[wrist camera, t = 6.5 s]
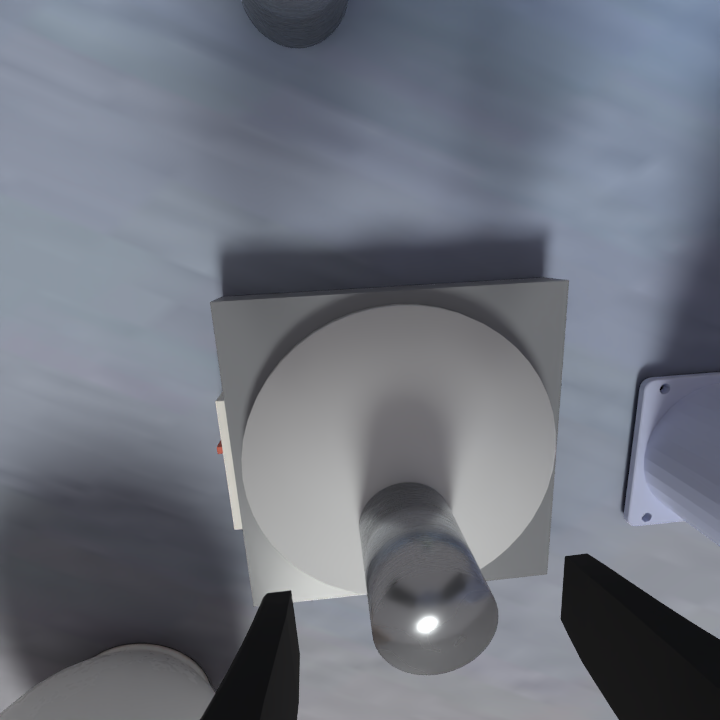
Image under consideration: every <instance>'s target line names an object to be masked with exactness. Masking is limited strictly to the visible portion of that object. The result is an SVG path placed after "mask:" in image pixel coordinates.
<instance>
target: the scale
mask: <svg viewBox="0 0 720 720" xmlns="http://www.w3.org/2000/svg"><path fill="white" fill-rule="evenodd" d="M568 286H569V280H562V279H553V278H544V277H542V278H525V279H509V280H492V281H475V282H459V283H442V284H425V285H409V286H392V287H375V288H359V289H342V290H325V291H309V292H292V293H275V294H259V295H242V296H225V297H221V298H218V299H216V300H214V301H211V302H210V306H211V313H212V320H213V327H214V333H215V340H216V347H217V354H218V361H219V368H220V375H221V382H222V389H223V392H222V393H221V395H220V396H219V397H218V399H217V400H216V401H215V402H216V409H217V415H218V422H219V429H220V436H221V441H220V442H219V444H218V446H217V452H218V454H222V453H223V456H224V462H225V469H226V476H227V483H228V489H229V496H230V503H231V509H232V516H233V523H234V529H235V530H238V529H243V536H244V543H245V550H246V557H247V564H248V571H249V578H250V585H251V592H252V599H253V606H254V607H256V606H260V604H261V601H262V599H263V597H264V596H265V595H266V594H267V593H272V592H280V591H289V590H291V593H292V600H293V602H301V601H310V600H319V599H328V598H337V597H346V596H355V595H364V594H367V588H366V580H365V572H364V565H363V557H362V549H361V541H360V533H359V520H360V516H361V513H362V511H363V509H364V507H365V505H366V504H367V502H368V501H369V500H370V499H371V498H372V497H373V496H374V495H375V494H376V493H378V492H379V491H381V490H382V489H384V488H386V487H388V486H391V485H394V484H397V483H403V482H415V483H421V484H424V485H427V486H429V487H431V488H433V489H435V490H436V491H438V492H439V493H440V494H441V495H442V496H443V497H444V499H445V500H446V502H447V503H448V505H449V507H450V509H451V512H452V514H453V516H454V518H455V520H456V522H457V524H458V526H459V528H460V530H461V532H462V534H463V536H464V538H465V540H466V542H467V544H468V546H469V548H470V550H471V552H472V554H473V556H474V558H475V560H476V562H477V564H478V566H479V568H480V570H481V572H482V574H483V576H484V578H485V580H486V581H491V580H500V579H509V578H518V577H527V576H536V575H545V574H547V568H548V555H549V542H550V528H551V515H552V501H553V488H554V474H555V461H556V447H557V434H558V421H559V407H560V394H561V380H562V367H563V353H564V340H565V327H566V313H567V300H568Z"/></svg>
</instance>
